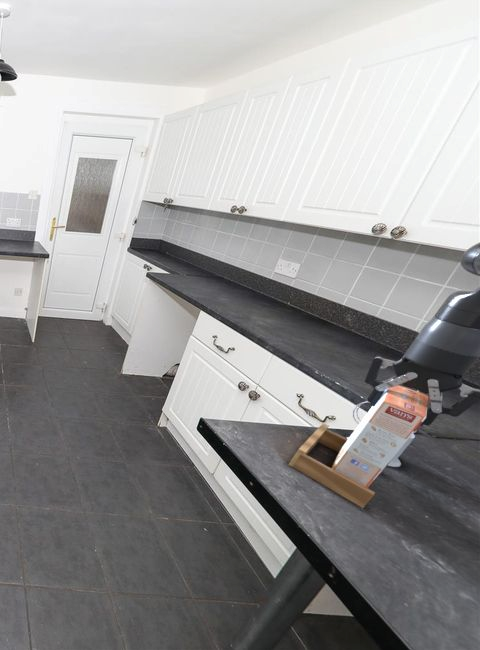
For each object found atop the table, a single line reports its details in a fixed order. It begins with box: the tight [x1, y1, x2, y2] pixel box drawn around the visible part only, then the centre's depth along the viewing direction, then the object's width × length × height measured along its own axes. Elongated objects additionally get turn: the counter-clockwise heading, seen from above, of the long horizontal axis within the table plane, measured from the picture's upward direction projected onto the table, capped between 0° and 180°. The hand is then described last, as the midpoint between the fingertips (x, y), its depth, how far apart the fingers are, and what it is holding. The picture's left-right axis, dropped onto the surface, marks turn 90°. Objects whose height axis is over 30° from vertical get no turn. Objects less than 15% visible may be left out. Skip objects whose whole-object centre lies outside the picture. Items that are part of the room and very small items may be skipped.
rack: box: [288, 422, 391, 509], centre depth 77 cm, size 19×12×5 cm, turn 122°
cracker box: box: [330, 384, 430, 489], centre depth 72 cm, size 14×6×21 cm, turn 125°
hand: (395, 414), depth 69 cm, fingers closed on cracker box, 6 cm apart
